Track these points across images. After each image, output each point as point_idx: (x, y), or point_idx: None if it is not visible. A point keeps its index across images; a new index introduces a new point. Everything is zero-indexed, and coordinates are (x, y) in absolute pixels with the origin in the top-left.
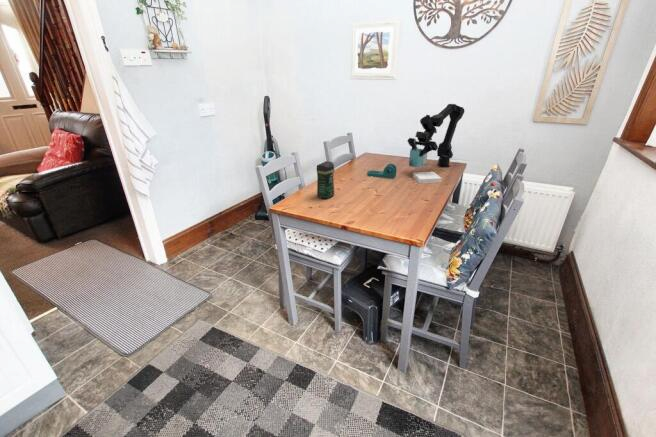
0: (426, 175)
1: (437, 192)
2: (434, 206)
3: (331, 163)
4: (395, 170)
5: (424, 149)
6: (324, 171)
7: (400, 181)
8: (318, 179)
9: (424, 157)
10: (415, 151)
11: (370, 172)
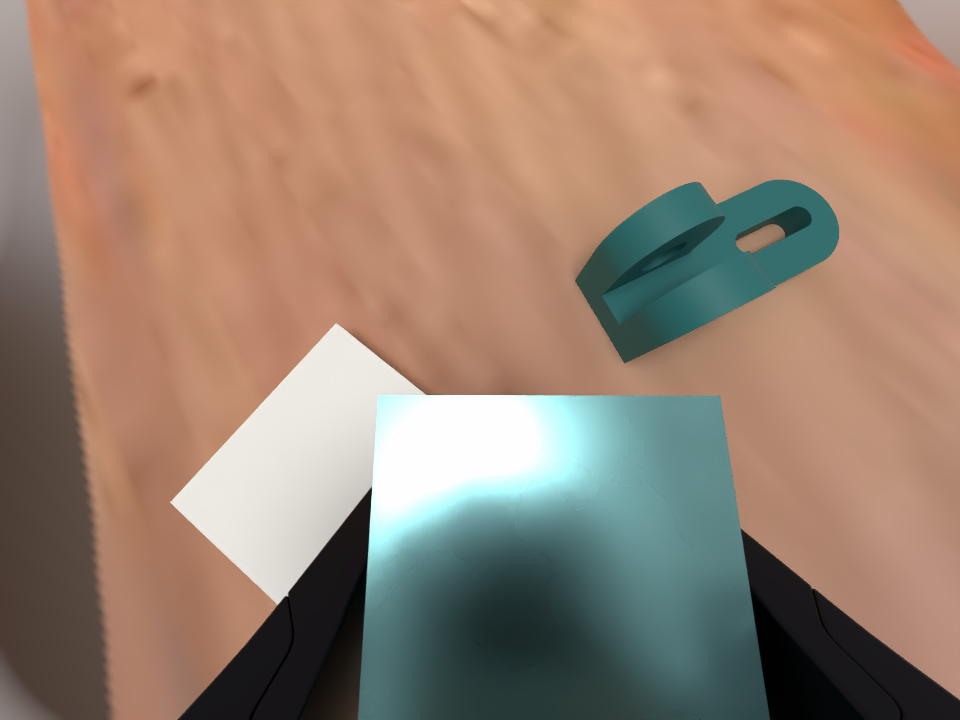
0: (345, 472)
1: (134, 249)
2: (63, 46)
3: None
4: (637, 314)
5: (244, 676)
6: None
7: (491, 263)
8: None
9: None
10: (505, 397)
11: (786, 199)
